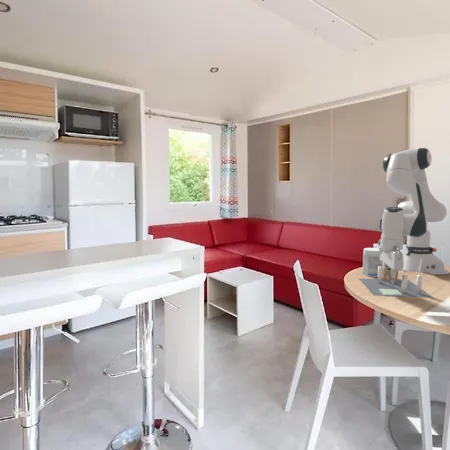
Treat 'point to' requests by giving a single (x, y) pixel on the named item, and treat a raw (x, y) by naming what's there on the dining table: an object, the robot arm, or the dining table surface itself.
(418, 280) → the board
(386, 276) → the ring
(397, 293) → the pad
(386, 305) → the dining table surface
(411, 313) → the dining table surface
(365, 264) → the supplement tub
